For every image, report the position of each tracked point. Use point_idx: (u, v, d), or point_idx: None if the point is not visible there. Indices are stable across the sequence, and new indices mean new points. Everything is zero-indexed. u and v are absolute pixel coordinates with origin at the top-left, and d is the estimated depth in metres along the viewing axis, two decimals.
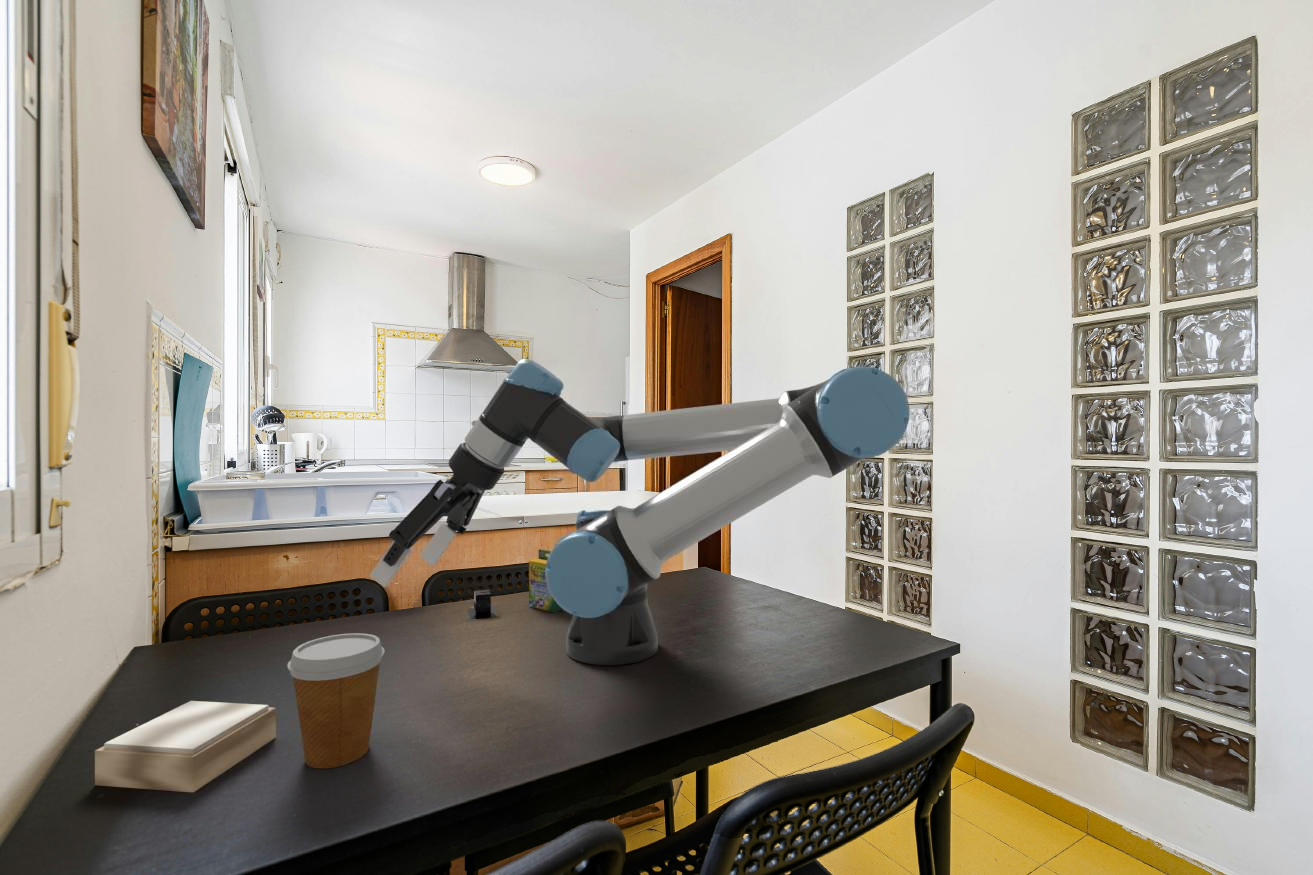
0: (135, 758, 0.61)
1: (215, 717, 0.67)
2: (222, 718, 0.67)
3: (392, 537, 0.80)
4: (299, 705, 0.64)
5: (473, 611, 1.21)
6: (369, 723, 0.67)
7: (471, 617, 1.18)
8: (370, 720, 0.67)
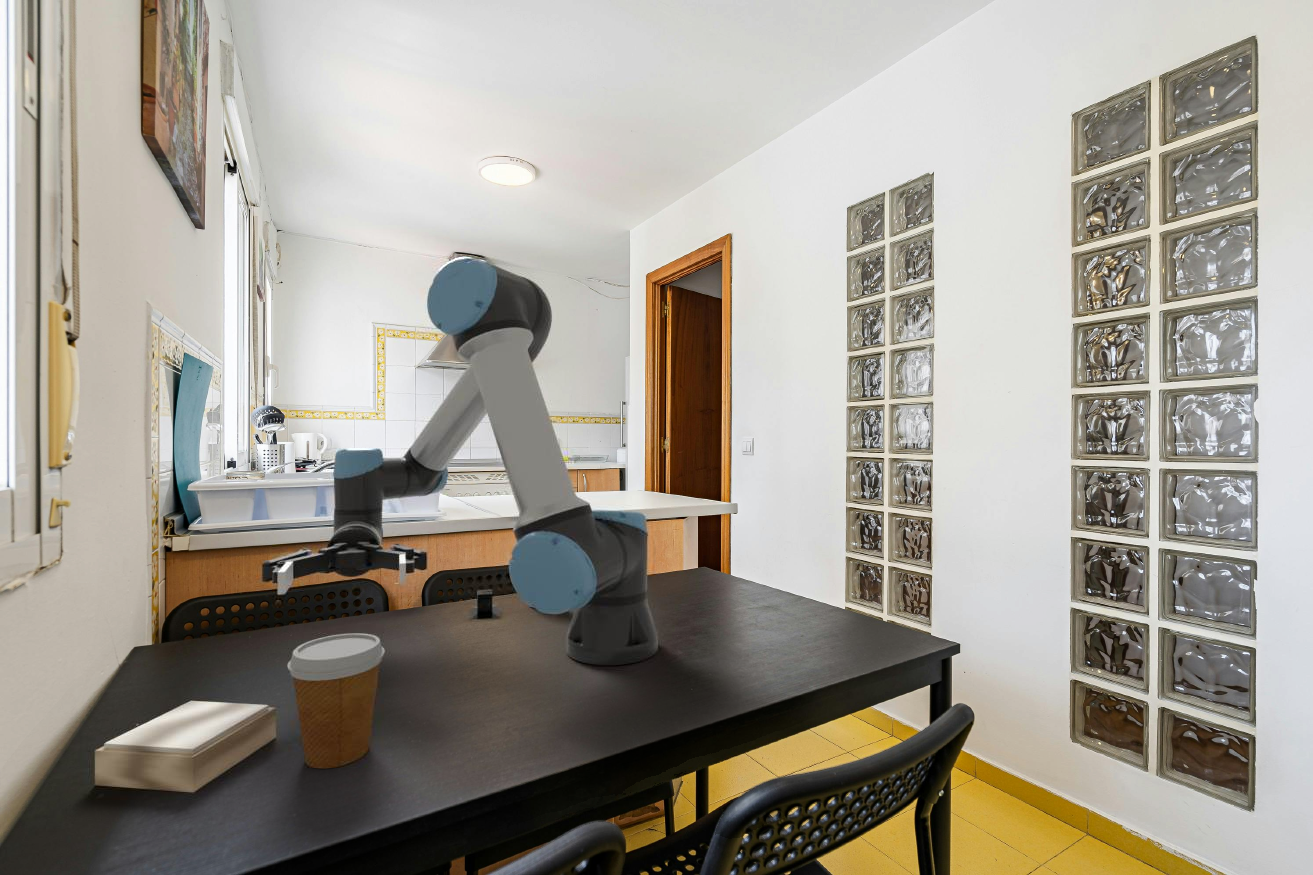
0: (135, 758, 0.61)
1: (215, 717, 0.67)
2: (222, 718, 0.67)
3: (262, 576, 0.79)
4: (299, 705, 0.64)
5: (475, 610, 1.21)
6: (369, 723, 0.67)
7: (472, 616, 1.18)
8: (370, 720, 0.67)
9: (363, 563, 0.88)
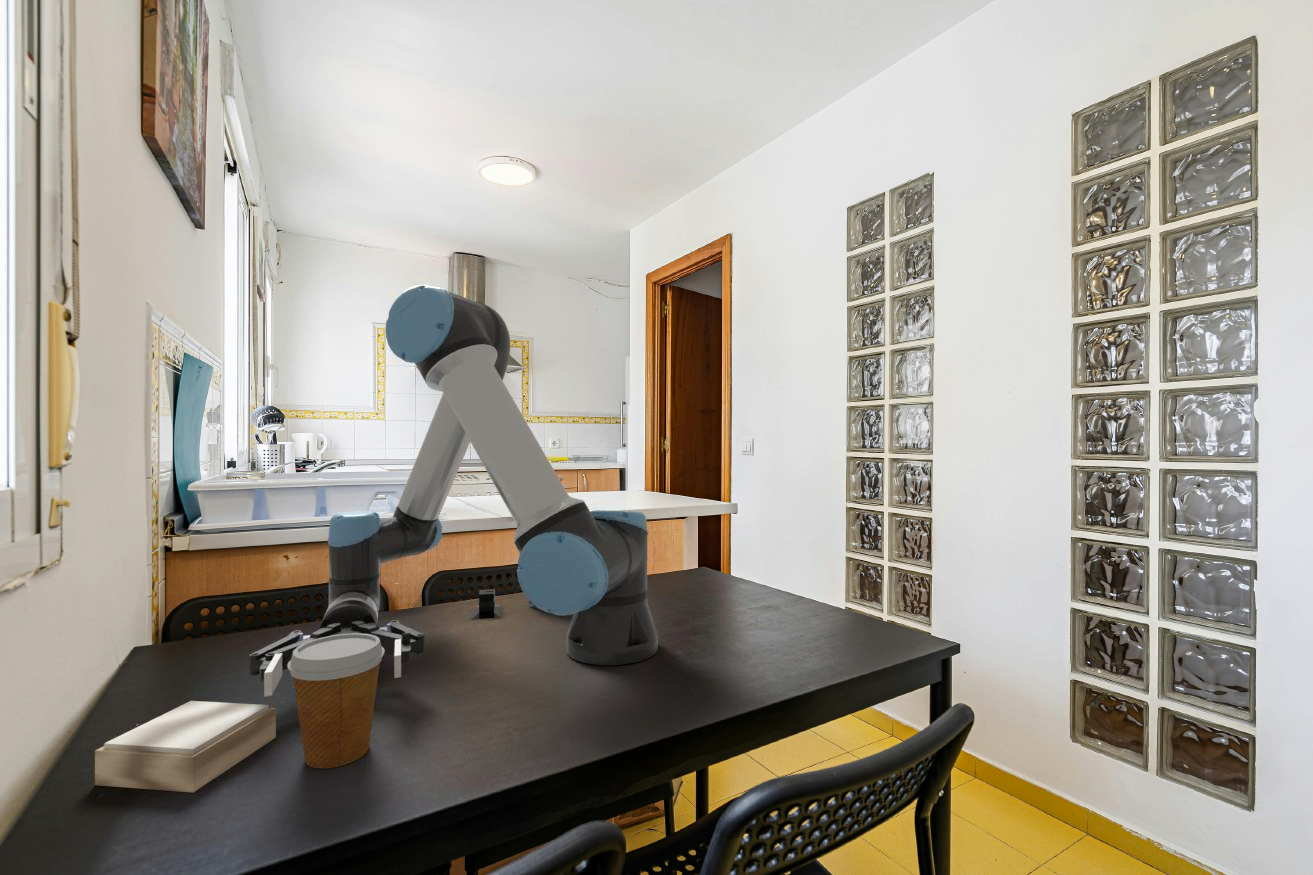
0: (135, 758, 0.61)
1: (215, 717, 0.67)
2: (222, 718, 0.67)
3: None
4: (299, 705, 0.64)
5: (478, 610, 1.22)
6: (369, 723, 0.67)
7: (473, 616, 1.18)
8: (370, 720, 0.67)
9: None
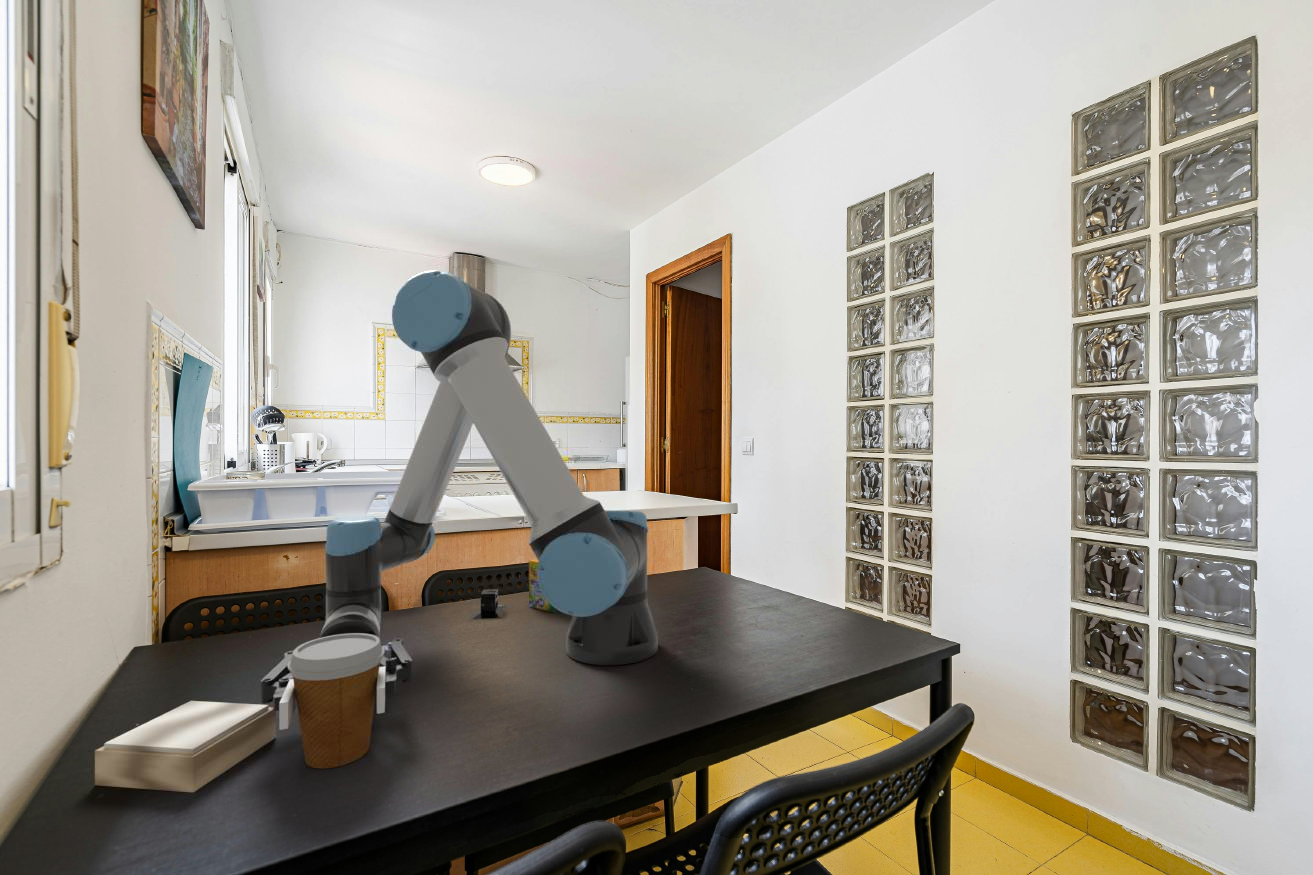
0: (135, 758, 0.61)
1: (215, 717, 0.67)
2: (222, 718, 0.67)
3: (261, 697, 0.67)
4: (299, 705, 0.64)
5: (480, 610, 1.22)
6: (369, 723, 0.67)
7: (475, 616, 1.19)
8: (370, 720, 0.67)
9: None
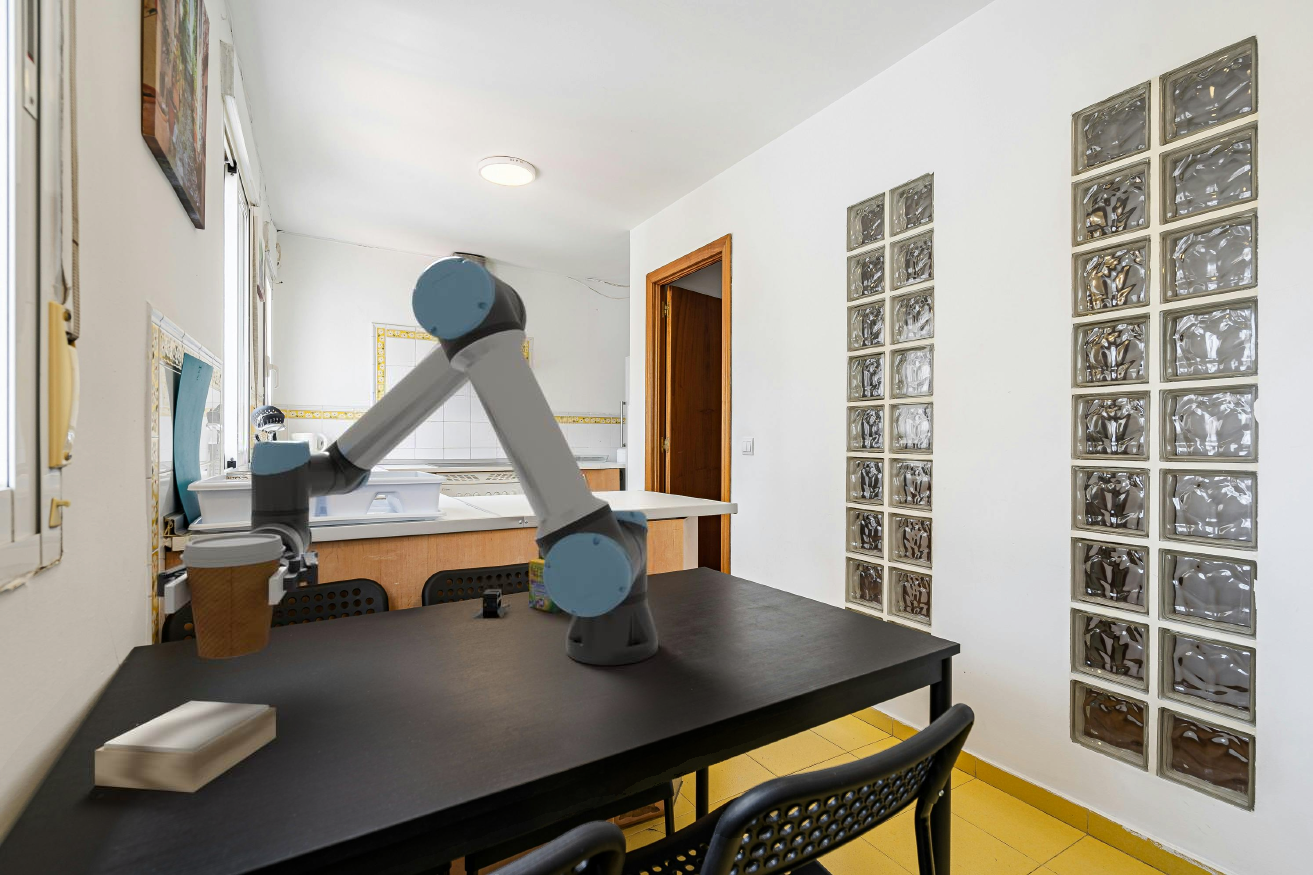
0: (135, 758, 0.61)
1: (215, 717, 0.67)
2: (222, 718, 0.67)
3: None
4: (191, 594, 0.64)
5: None
6: (266, 618, 0.67)
7: (476, 615, 1.19)
8: (267, 616, 0.67)
9: None
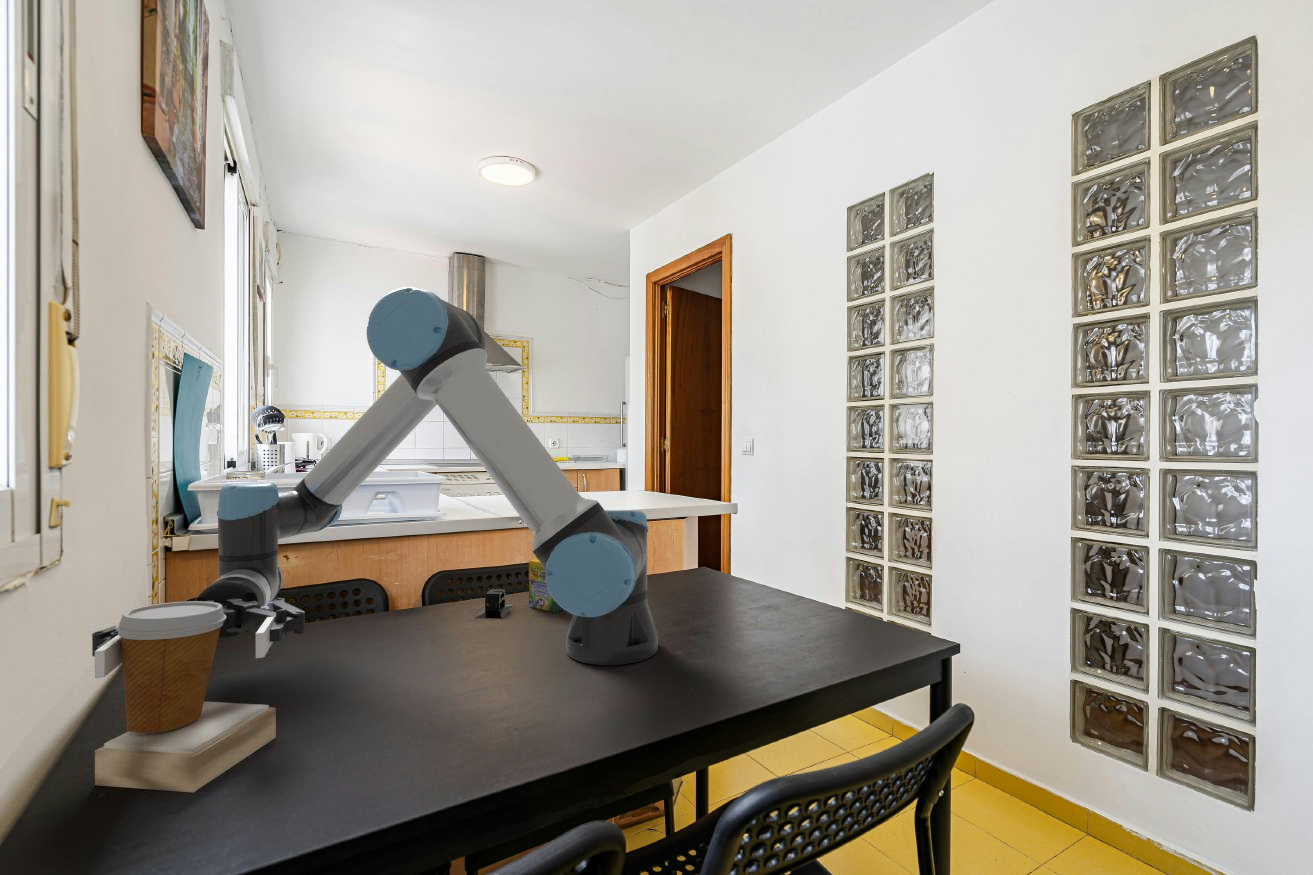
0: (135, 758, 0.61)
1: (215, 717, 0.67)
2: (222, 718, 0.67)
3: (92, 650, 0.66)
4: (123, 666, 0.63)
5: None
6: (199, 691, 0.66)
7: (478, 615, 1.19)
8: (201, 688, 0.66)
9: (230, 625, 0.75)
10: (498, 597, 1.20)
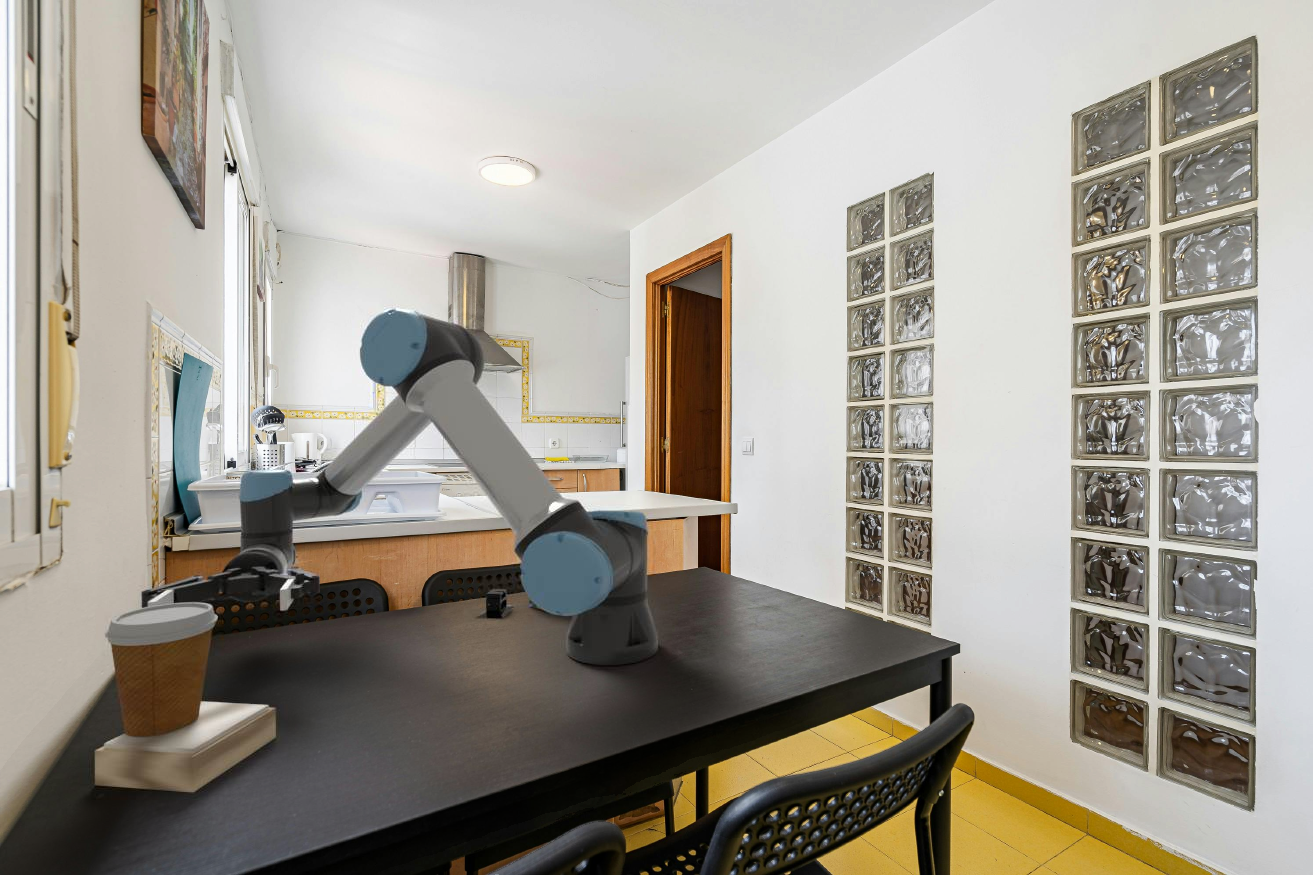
0: (135, 758, 0.61)
1: (215, 717, 0.67)
2: (222, 718, 0.67)
3: None
4: (115, 671, 0.63)
5: None
6: (193, 693, 0.66)
7: (479, 615, 1.19)
8: (195, 690, 0.66)
9: (255, 588, 0.87)
10: (499, 597, 1.20)
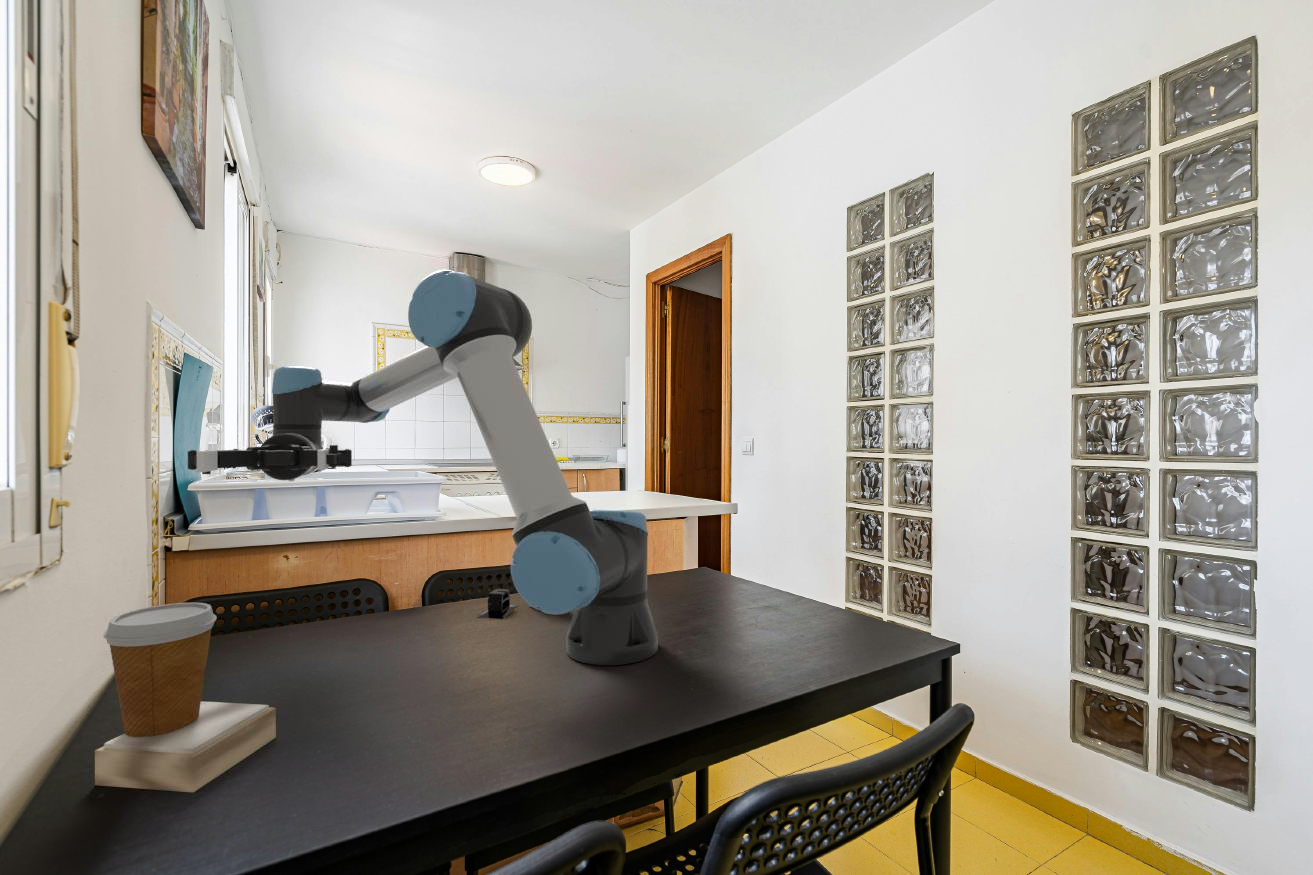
0: (135, 758, 0.61)
1: (215, 717, 0.67)
2: (222, 718, 0.67)
3: None
4: (114, 671, 0.63)
5: None
6: (193, 693, 0.66)
7: (481, 614, 1.19)
8: (194, 690, 0.66)
9: (291, 462, 0.92)
10: (501, 597, 1.20)
